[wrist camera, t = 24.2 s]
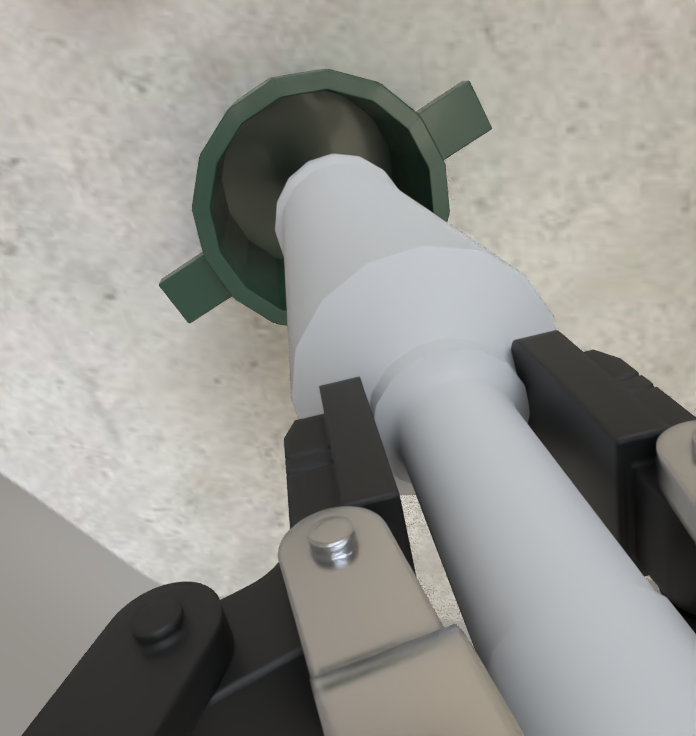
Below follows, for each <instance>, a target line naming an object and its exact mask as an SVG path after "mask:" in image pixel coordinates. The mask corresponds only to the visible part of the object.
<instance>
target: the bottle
mask: <svg viewBox="0 0 696 736" xmlns="http://www.w3.org/2000/svg"><path fill="white" fill-rule="evenodd" d="M275 232H276V235H277V238H278V241H279V244H280V247H281V250H282V253H283V256H284V266H285V285H286V304H287V323H288V343H289V362H290V381H291V399H292V402H293V405H294V407H295V410H296V413H297V416H298V418H299V419H303V418H307V417H311V416H316V415H320V414H324V410H323V405H322V400H321V395H320V390H319V386H321V385H325V384H329V383H333V382H337V381H342V380H346V379H350V378H354V377H358V376H360V378H361V381H362V384H363V387H364V390H365V393H366V396H367V399H368V402H369V405H370V408H371V411H372V414H373V417H374V420H375V423H376V426H377V429H378V432H379V434H380V437H381V440H382V443H383V446H384V449H385V452H386V455H387V458H388V461H389V464H390V467H391V470H392V473H393V476H394V479H395V482H396V485H397V488H398V491H399V494H400V495H416V496H417V499H418V501H419V504H420V507H421V509H422V512H423V514H424V517H425V520H426V522H427V525H428V528H429V530H430V533H431V535H432V538H433V541H434V543H435V546H436V549H437V551H438V554H439V556H440V559H441V562H442V564H443V567H444V570H445V572H446V575H447V577H448V580H449V583H450V585H451V588H452V591H453V593H454V596H455V598H456V601H457V604H458V606H459V609H460V612H461V614H462V617H463V619H464V622H465V625H466V627H467V630H468V633H469V635H470V638H471V640H472V643H473V646H474V648H475V651H476V653H477V655H478V656H479V658H480V660H481V661H482V663H483V665H484V666H485V668H486V670H487V672H488V673H489V675H490V677H491V678H492V680H493V682H494V683H495V685H496V687H497V689H498V690H499V692H500V694H501V695H502V697H503V699H504V700H505V702H506V704H507V706H508V707H509V709H510V711H511V712H512V714H513V716H514V717H515V719H516V721H517V723H518V724H519V726H520V728H521V729H522V731H523V733H524V734H525V736H696V634H695V633H694V631H693V630H692V629H691V627H690V626H689V625H688V624H687V622H686V621H685V620H684V619H683V617H682V616H681V615H680V613H679V612H678V611H677V610H676V608H675V607H674V606H673V605H672V603H671V602H670V601H669V600H668V598H667V597H665V596H663V595H660V594H658V593H656V591H655V590H654V589H653V588H652V587H651V585H650V584H649V582H648V581H647V580H646V578H645V577H644V576H643V574H642V573H641V572H640V570H639V569H638V568H637V567H636V565H635V564H634V563H633V561H632V560H631V559H630V557H629V556H628V555H627V553H626V552H625V551H624V550H623V548H622V547H621V546H620V544H619V543H618V542H617V540H616V539H615V538H614V536H613V535H612V534H611V533H610V531H609V530H608V529H607V527H606V526H605V525H604V523H603V522H602V521H601V519H600V518H599V517H598V516H597V514H596V513H595V512H594V510H593V509H592V508H591V506H590V505H589V504H588V502H587V501H586V500H585V498H584V497H583V496H582V495H581V493H580V492H579V491H578V489H577V488H576V487H575V485H574V484H573V483H572V481H571V480H570V479H569V478H568V476H567V475H566V474H565V472H564V471H563V470H562V468H561V467H560V466H559V464H558V463H557V462H556V461H555V459H554V458H553V457H552V455H551V454H550V453H549V451H548V450H547V449H546V447H545V446H544V445H543V444H542V442H541V441H540V440H539V438H538V437H537V436H536V434H535V433H534V432H533V430H532V429H531V428H530V426H529V425H528V420H529V416H530V411H529V403H528V398H527V393H526V388H525V385H524V383H523V382H522V381H521V380H520V378H519V377H518V376H517V372H516V368H515V364H514V359H513V355H512V351H511V346H512V342H513V341H514V340H516V339H520V338H524V337H528V336H533V335H537V334H541V333H545V332H550V331H554V330H556V326H555V320H554V316H553V314H552V313H551V311H550V310H549V308H548V307H547V306H546V304H545V303H544V301H543V300H542V298H541V297H540V296H539V294H538V293H537V291H536V290H535V288H534V287H533V286H532V284H531V283H530V281H529V280H528V279H527V277H526V276H525V275H524V274H522V273H521V272H519V271H518V270H516V269H515V268H513V267H512V266H511V265H509V264H508V263H506V262H505V261H503V260H502V259H500V258H499V257H497V256H496V255H494V254H493V253H491V252H490V251H488V250H487V249H485V248H484V247H482V246H481V245H479V244H478V243H477V242H475V241H474V240H472V239H471V238H469V237H468V236H466V235H465V234H463V233H462V232H460V231H459V230H457V229H456V228H454V227H453V226H451V225H450V224H448V223H447V222H445V221H444V220H443V219H441V218H440V217H438V216H437V215H435V214H434V213H432V212H431V211H429V210H428V209H426V208H425V207H423V206H422V205H420V204H419V203H417V202H416V201H414V200H413V199H411V198H410V197H409V196H407V195H406V194H404V193H403V192H401V191H400V190H398V188H397V187H396V186H395V184H394V183H393V182H392V180H391V179H390V178H389V176H388V175H387V174H386V172H385V171H384V170H382V169H381V168H379V167H377V166H375V165H374V164H372V163H370V162H368V161H367V160H365V159H363V158H361V157H359V156H352V155H342V154H330V155H326V156H323V157H320V158H317V159H314V160H311V161H308V162H307V163H306V164H305V165H303V166H302V167H301V168H300V169H299V170H298V171H296V172H295V173H294V174H293V175H292V176H291V177H289V179H288V181H287V183H286V185H285V187H284V189H283V191H282V193H281V195H280V197H279V199H278V201H277V209H276V224H275Z"/></svg>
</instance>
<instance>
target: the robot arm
mask: <svg viewBox="0 0 696 736" xmlns="http://www.w3.org/2000/svg"><path fill="white" fill-rule="evenodd" d="M511 351H512V355H513V359H514V364H515V368H516V372H517V376H518V377H519V378H520V380H521V381H522V382H523V383H524V385H525V388H526V393H527V398H528V403H529V411H530V416H529V420H528V425H529V426H530V428H531V429H532V430H533V432H534V433H535V434H536V436H537V437H538V438H539V440H540V441H541V442H542V444H543V445H544V446H545V447H546V449H547V450H548V451H549V453H550V454H551V455H552V457H553V458H554V459H555V461H556V462H557V463H558V464H559V466H560V467H561V468H562V470H563V471H564V472H565V474H566V475H567V476H568V478H569V479H570V480H571V481H572V483H573V484H574V485H575V487H576V488H577V489H578V491H579V492H580V493H581V495H582V496H583V497H584V498H585V500H586V501H587V502H588V504H589V505H590V506H591V508H592V509H593V510H594V512H595V513H596V514H597V516H598V517H599V518H600V519H601V521H602V522H603V523H604V525H605V526H606V527H607V529H608V530H609V531H610V533H611V534H612V535H613V536H614V538H615V539H616V540H617V542H618V543H619V544H620V546H621V547H622V548H623V550H624V551H625V552H626V553H627V555H628V556H629V557H630V559H631V560H632V561H633V563H634V564H635V565H636V567H637V568H638V569H639V570H640V572H641V573H642V574H643V576H648V575H649V576H650V577H651V578H652V579H653V581H654V582H655V583H656V584H657V593H658V594H660V595H663V596H665V597H667V598H668V600H669V601H670V602H671V603H672V605H673V606H674V607H675V608H676V610H677V611H678V612H679V613H680V615H681V616H682V617H683V619H684V620H685V621H686V622H687V624H688V625H689V626H690V627H691V629H692V630H693V631H694V633H695V634H696V417H695V416H693V415H692V414H691V413H690V412H688V411H687V410H686V409H685V408H683V407H682V406H681V405H679V404H678V403H677V402H676V401H674V400H673V399H672V398H670V397H669V396H668V395H667V394H665V393H664V392H663V391H661V390H660V389H659V388H658V387H655V388H654V386H653V383H651V382H650V381H649V380H647V379H646V378H645V377H644V376H642V375H641V376H639V374H638V372H637V371H636V370H635V369H633V368H632V367H631V366H629V365H628V364H627V363H626V362H624V361H623V360H622V359H620V358H617V357H614V356H611V355H608V354H605V353H602V352H599V351H596V350H590V351H586V352H583V351H582V350H580V349H579V348H578V347H577V346H576V345H575V344H573V343H572V342H571V341H570V340H569V339H568V338H566V337H565V336H564V335H563V334H562V333H560V332H559V331H557V330H554V331H550V332H545V333H541V334H537V335H533V336H528V337H524V338H520V339H516V340H514V341H513V342H512V346H511ZM319 390H320V395H321V400H322V405H323V410H324V414H320V415H316V416H311V417H307V418H303V419H299V420H295V421H294V423H293V424H292V426H291V428H290V429H289V431H288V433H287V434H286V436H285V438H284V448H285V458H286V460H285V463H286V473H287V476H286V477H287V491H288V506H289V520H290V530H289V531H288V532H287V533H286V535H285V536H284V538H283V539H282V541H281V543H280V546H279V550H278V560H279V562H278V564H277V565H276V566H275V567H274V568H273V569H272V570H271V571H270V572H268V573H267V574H266V575H265V576H263V577H262V578H261V579H259V580H258V581H256V582H254V583H253V584H251V585H249V586H247V587H245V588H243V589H241V590H239V591H237V592H235V593H233V594H231V595H229V596H227V597H225V598H223V599H221V600H220V599H219V597H218V595H217V594H216V593H215V592H214V591H213V590H212V589H211V588H209V587H208V586H206V585H203V584H201V583H196V582H176V583H171V584H166V585H163V586H160V587H157V588H154V589H152V590H150V591H148V592H146V593H144V594H142V595H140V596H139V597H137V598H136V599H134V600H133V601H131V602H130V603H129V604H127V605H126V606H125V607H124V608H122V609H121V610H120V611H119V612H118V613H117V614H116V615H115V616H114V618H113V619H112V620H111V621H110V622H109V624H108V625H107V626H106V627H105V629H104V630H103V631H102V633H101V634H100V635H99V636H98V638H97V639H96V640H95V642H94V643H93V644H92V645H91V647H90V648H89V649H88V651H87V652H86V653H85V654H84V656H83V657H82V658H81V660H80V661H79V662H78V664H77V665H76V666H75V667H74V669H73V670H72V671H71V672H70V674H69V675H68V676H67V678H66V679H65V680H64V682H63V683H62V684H61V686H60V687H59V688H58V689H57V691H56V692H55V693H54V694H53V696H52V697H51V698H50V700H49V701H48V702H47V703H46V705H45V706H44V707H43V709H42V710H41V711H40V712H39V714H38V715H37V717H36V718H35V719H34V720H33V721H32V723H31V724H30V725H29V727H28V728H27V729H26V731H25V732H24V733H23V734H22V736H525V734H524V733H523V731H522V729H521V728H520V726H519V724H518V723H517V721H516V719H515V717H514V716H513V714H512V712H511V711H510V709H509V707H508V706H507V704H506V702H505V700H504V699H503V697H502V695H501V694H500V692H499V690H498V689H497V687H496V685H495V683H494V682H493V680H492V678H491V677H490V675H489V673H488V672H487V670H486V668H485V666H484V665H483V663H482V661H481V660H480V658H479V656H478V655H477V653H476V651H475V649H474V648H473V646H472V644H471V643H470V641H469V640H468V638H467V637H466V635H465V634H464V632H463V631H462V630H461V629H460V627H459V626H457V625H456V624H452V625H449V626H447V627H444V626H443V624H442V623H441V621H440V619H439V617H438V616H437V614H436V612H435V610H434V608H433V607H432V605H431V603H430V601H429V599H428V598H427V596H426V594H425V592H424V590H423V589H422V587H421V585H420V583H419V581H418V580H417V577H416V573H415V568H414V563H413V558H412V553H411V548H410V543H409V538H408V533H407V528H406V524H405V519H404V514H403V509H402V504H401V499H400V494H399V491H398V488H397V485H396V482H395V479H394V476H393V473H392V470H391V467H390V464H389V461H388V458H387V455H386V452H385V449H384V446H383V443H382V440H381V437H380V434H379V432H378V429H377V426H376V423H375V420H374V417H373V414H372V411H371V408H370V405H369V402H368V399H367V396H366V393H365V390H364V387H363V384H362V381H361V378H360V376H358V377H354V378H350V379H346V380H342V381H337V382H333V383H329V384H325V385H321V386H319Z"/></svg>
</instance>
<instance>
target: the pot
mask: <svg viewBox="0 0 696 736" xmlns="http://www.w3.org/2000/svg"><path fill="white" fill-rule="evenodd" d="M491 129H492V127H491V125H490V123H489V120H488V118H487V116H486V114H485V112H484V110H483V108H482V106H481V104H480V102H479V100H478V97H477V95H476V93H475V91H474V89H473V87H472V85H471V83H470V81H462V82H460V83H459V84H457V85H456V86H454V87H453V88H451V89H450V90H448V91H447V92H445V93H444V94H442V95H440V96H439V97H437V98H436V99H434V100H433V101H431V102H430V103H428V104H427V105H425V106H424V107H422V108H421V109H419V110H418V111H416V112H415V111H414V110H413V109H412V108H410V107H409V106H408V105H407V104H406V103H404V102H403V101H402V100H401V99H399V98H398V97H397V96H396V95H394V94H393V93H392V92H391V91H390V90H388V89H387V88H386V87H385V86H383V85H382V84H380V83H379V82H376V81H372V80H368V79H365V78H361V77H357V76H353V75H349V74H346V73H342V72H338V71H334V70H331V69H322V70H314V71H307V72H301V73H295V74H290V75H284V76H278V77H272V78H270V79H268V80H266V81H265V82H263V83H262V84H260V85H259V86H257V87H256V88H254V89H253V90H251V91H250V92H248V93H247V94H246V95H244V96H243V97H241V98H240V99H238V100H237V101H236V102H235V103H234V104H233V105H232V106H231V107H230V108H229V109H228V110H227V112H226V113H225V115H224V117H223V118H222V120H221V121H220V123H219V125H218V126H217V128H216V130H215V131H214V133H213V134H212V136H211V138H210V139H209V141H208V142H207V144H206V146H205V147H204V149H203V151H202V152H201V154H200V157H199V162H198V169H197V176H196V183H195V189H194V196H193V203H192V212H193V216H194V220H195V223H196V227H197V231H198V235H199V239H200V243H201V247H202V251H203V252H202V253H200V254H199V255H197V256H196V257H194V258H193V259H191V260H189V261H188V262H186V263H185V264H183V265H182V266H180V267H179V268H177V269H176V270H174V271H173V272H171V273H170V274H168V275H167V276H165V277H164V278H162V279H161V281H160V283H159V286H160V288H161V289H162V290H163V291H164V293H165V294H166V295H167V296H168V298H169V299H170V300H171V302H172V303H173V304H174V305H175V307H176V308H177V309H178V311H179V312H180V313H181V314H182V316H183V317H184V318H185V319H186V321H187V322H188V323H191V322H193V321H195V320H196V319H198V318H199V317H201V316H202V315H204V314H205V313H207V312H209V311H210V310H212V309H213V308H215V307H216V306H218V305H219V304H221V303H223V302H224V301H226V300H227V299H229V298H230V297H233V298H235V299H236V300H237V301H239V302H241V303H242V304H244V305H245V306H247V307H249V308H250V309H252V310H253V311H255V312H257V313H258V314H260V315H261V316H263V317H265V318H266V319H268V320H269V321H271V322H273V323H276V324H280V325H285V326H288V323H287V304H286V285H285V266H284V256H283V253H282V250H281V247H280V244H279V241H278V238H277V235H276V232H275V224H276V209H277V201H278V199H279V197H280V195H281V193H282V191H283V189H284V187H285V185H286V183H287V181H288V179H289V177H291V176H292V175H293V174H294V173H295V172H296V171H298V170H299V169H300V168H301V167H302V166H303V165H305V164H306V163H307V162H308V161H311V160H314V159H317V158H320V157H323V156H326V155H330V154H342V155H352V156H359V157H361V158H363V159H365V160H367V161H368V162H370V163H372V164H374V165H375V166H377V167H379V168H381V169H382V170H384V171H385V172H386V174H387V175H388V176H389V178H390V179H391V180H392V182H393V183H394V184H395V186H396V187H397V188H398V190H400V191H401V192H403V193H404V194H406V195H407V196H409V197H410V198H411V199H413V200H414V201H416V202H417V203H419V204H420V205H422V206H423V207H425V208H426V209H428V210H429V211H431V212H432V213H434V214H435V215H437V216H438V217H440V218H441V219H443V220H444V221H445V222H447V221H448V218H449V213H450V209H449V198H448V187H447V176H446V165H445V163H444V160H445V159H446V158H448V157H449V156H451V155H453V154H454V153H456V152H457V151H459V150H460V149H462V148H463V147H465V146H466V145H468V144H470V143H471V142H473V141H474V140H476V139H477V138H479V137H480V136H482V135H484V134H485V133H487V132H488V131H490V130H491Z"/></svg>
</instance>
